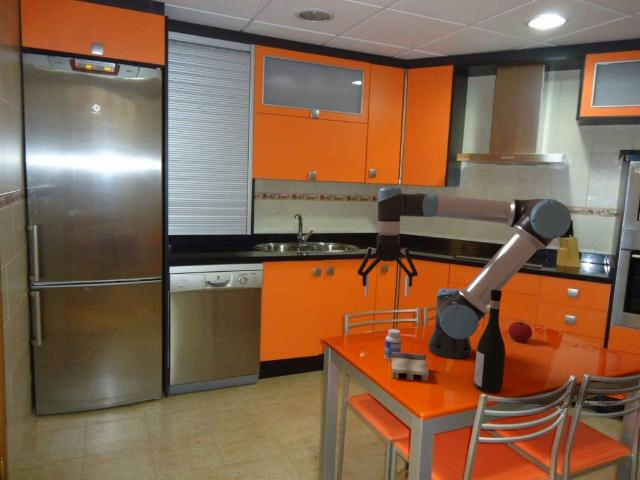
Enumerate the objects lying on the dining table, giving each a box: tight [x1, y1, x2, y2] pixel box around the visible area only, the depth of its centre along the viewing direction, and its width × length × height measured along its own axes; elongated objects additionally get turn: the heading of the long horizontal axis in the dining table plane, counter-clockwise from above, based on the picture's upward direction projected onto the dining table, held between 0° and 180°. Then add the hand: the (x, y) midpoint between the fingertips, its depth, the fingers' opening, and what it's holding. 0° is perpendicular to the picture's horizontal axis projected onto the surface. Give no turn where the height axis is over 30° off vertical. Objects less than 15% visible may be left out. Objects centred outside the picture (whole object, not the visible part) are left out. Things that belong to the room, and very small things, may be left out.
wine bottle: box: [473, 290, 506, 394], centre depth 138 cm, size 8×8×30 cm
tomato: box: [507, 320, 533, 342], centre depth 186 cm, size 9×9×8 cm
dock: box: [391, 351, 430, 382], centre depth 148 cm, size 11×11×4 cm
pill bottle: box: [384, 328, 402, 361], centre depth 161 cm, size 5×5×10 cm
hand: (386, 295), depth 159 cm, fingers open, 13 cm apart
